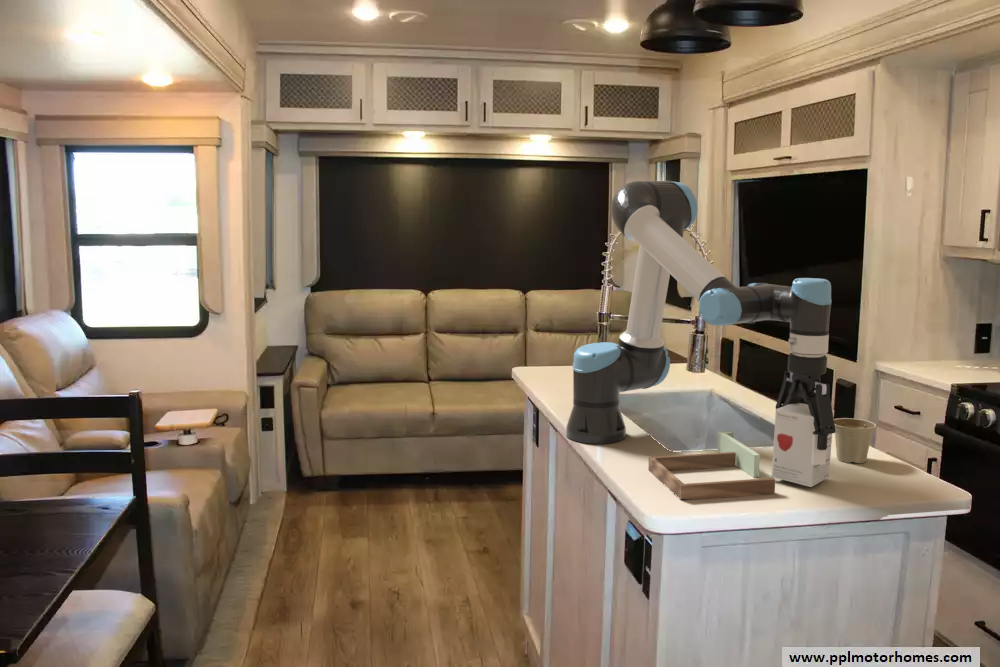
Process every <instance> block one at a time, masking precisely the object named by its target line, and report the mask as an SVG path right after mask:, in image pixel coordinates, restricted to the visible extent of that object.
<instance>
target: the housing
mask: <svg viewBox="0 0 1000 667" xmlns="http://www.w3.org/2000/svg"><path fill="white" fill-rule="evenodd" d="M735 463H736V453H735V452H724V453H718V452H709V453H694V454H678V455H662V456H660V455H659V456H648V471H649V472H650V473H651V474H652V475H653V476H654V477H655V478H656V479H657V480H659V481H660V482H661V483H662V484H663V485H664V484H665V485H666V486H667V487H668V488H669V489H670V490H671V491H672V492H674V493H675V494H676V495H677V496H678V497H679V498H680V499H692V500H704V499H706V498H707V499H716V498H717V499H719V498H731V497H732V498H734V497H746V496H761V495H762V496H763V495H775V493H776V479H775V477H768V478H765V477H764V478H753V479H739V480H738V479H737V480H723V481H722V480H720V481H706V482H704V481H703V482H692V483H690V482H689V483H684V482H683V481H681V480H680V479H679V478H678V477H677V476H676V475H675V474H674V473H672V472H671V471H679V470H695V469H696V470H697V469H711V468H725V467H727V468H729V467H736V465H735ZM665 485H664V486H665ZM666 486H665V487H666ZM667 487H666V488H667ZM668 488H667V489H668ZM669 489H668V490H669ZM670 490H669V491H670ZM671 491H670V492H671ZM672 492H671V493H672ZM675 494H674V495H675ZM676 495H675V496H676ZM677 496H676V497H677ZM678 497H677V498H678ZM679 498H678V499H679ZM680 499H679V500H680ZM707 499H706V500H707Z"/></svg>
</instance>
